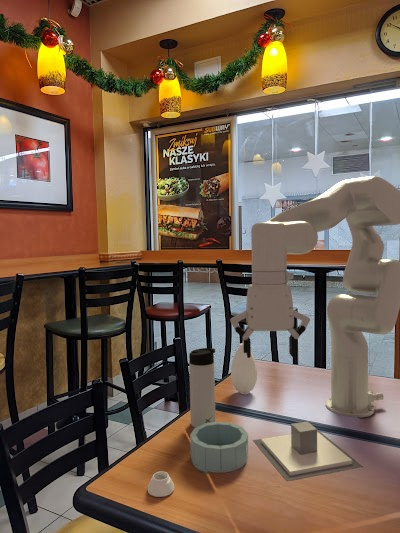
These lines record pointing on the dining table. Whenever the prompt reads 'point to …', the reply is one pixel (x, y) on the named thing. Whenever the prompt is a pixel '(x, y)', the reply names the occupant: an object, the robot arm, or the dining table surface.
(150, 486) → the lidless jar
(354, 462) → the mat
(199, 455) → the bowl
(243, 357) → the white pear-shaped vessel
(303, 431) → the square lid
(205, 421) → the travel mug
